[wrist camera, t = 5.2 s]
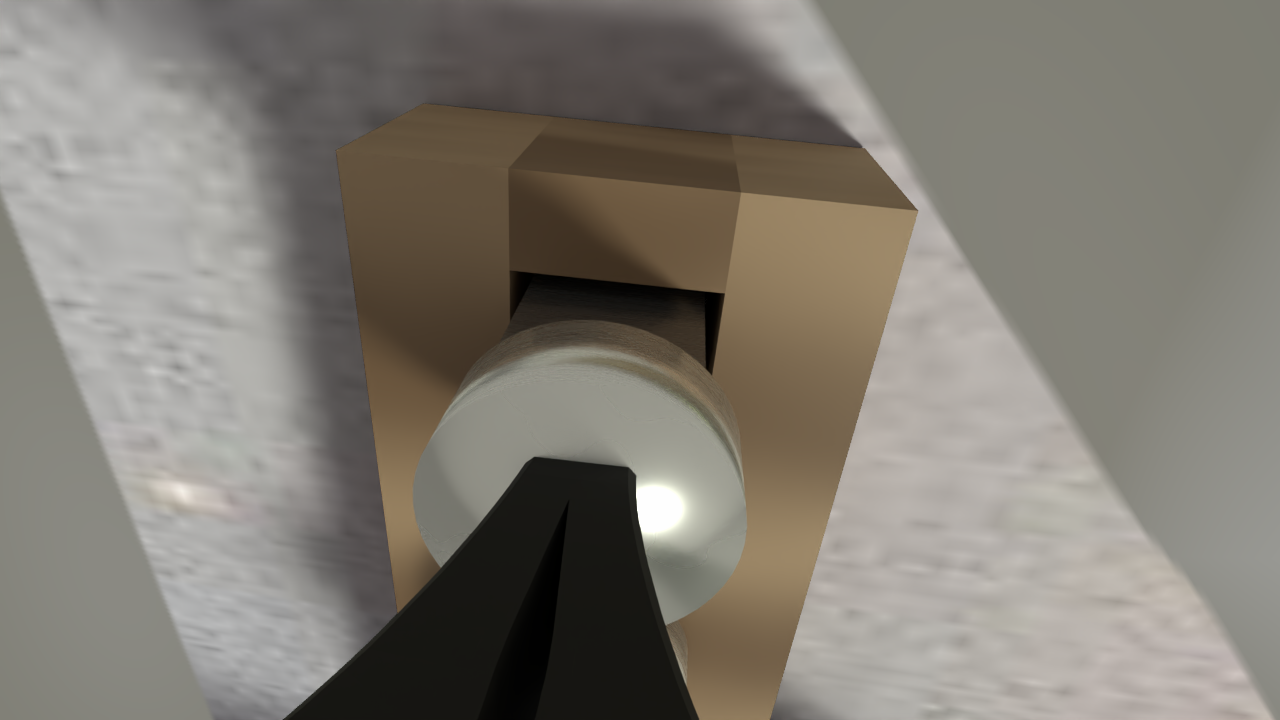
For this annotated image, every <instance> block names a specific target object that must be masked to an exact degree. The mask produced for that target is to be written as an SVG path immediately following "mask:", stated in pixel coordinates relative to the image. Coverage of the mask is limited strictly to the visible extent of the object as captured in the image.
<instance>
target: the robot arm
mask: <svg viewBox="0 0 1280 720" xmlns="http://www.w3.org/2000/svg"><path fill="white" fill-rule="evenodd" d="M636 478H637V475H636V474H635V473H634V472H633V471H632V470H631V469H630V468H629V467H623V466H614V465H605V464H595V463H587V462H578V461H569V460H560V459H551V458H542V457H533V458H532V459H530V460H529V461H527V462H526V463H525V464H524V466H523V467H522V468H521V470H520V471H519V473H518V474H517V476H516V477H515V478H514V480H513V481H512V483H511V484H510V485H509V487H508V488H507V489H506V491H505V492H504V493H503V495H502V496H501V497H500V498H499V500H498V501H497V502H496V504H495V505H494V506H493V507H492V509H491V510H490V511H489V512H488V514H487V515H486V516H485V517H484V518H483V520H482V521H481V522H480V523H479V525H478V526H477V527H476V528H475V530H474V531H473V532H472V533H471V534H470V535H469V536H468V538H467V539H466V540H465V541H464V542H463V543H462V544H461V546H460V547H459V548H458V549H457V550H456V551H455V552H454V554H453V555H452V556H451V557H450V558H449V559H448V560H447V562H446V563H445V564H444V565H443V566H442V567H441V568H440V570H439V571H438V572H437V573H436V574H435V575H434V576H433V577H432V578H431V579H430V581H429V582H428V583H427V584H426V585H425V586H424V587H423V588H422V589H421V590H420V591H419V592H418V593H417V594H416V595H415V596H414V597H413V598H412V599H411V600H410V601H409V602H408V603H407V604H406V605H405V606H404V607H403V608H402V609H401V610H400V611H399V612H398V613H397V614H396V616H395V617H394V618H393V619H392V620H391V621H390V622H389V623H388V624H387V625H386V626H385V627H384V628H383V629H382V630H381V631H380V632H379V633H378V634H377V635H376V636H375V637H374V638H373V639H372V640H371V641H370V642H369V643H368V644H366V645H365V646H364V647H363V648H362V649H361V650H360V651H359V652H358V653H357V654H356V655H355V656H354V657H353V658H352V659H351V660H350V661H349V662H347V663H346V664H345V665H344V666H343V667H342V668H341V669H340V670H339V671H338V672H337V673H335V674H334V675H333V676H332V677H331V678H330V679H329V680H328V681H327V682H325V683H324V684H323V685H322V686H321V687H320V688H319V689H317V690H316V691H315V692H314V693H313V694H312V695H311V696H310V697H308V698H307V699H306V700H305V701H304V702H303V703H302V704H301V705H299V706H298V707H297V708H296V709H295V710H294V711H292V712H291V713H290V714H289V715H288V716H287V717H285V718H284V719H283V720H699V717H698V715H697V712H696V710H695V707H694V705H693V702H692V700H691V697H690V694H689V692H688V689H687V686H686V684H685V681H684V678H683V675H682V673H681V670H680V667H679V664H678V661H677V658H676V655H675V652H674V650H673V647H672V644H671V641H670V638H669V635H668V632H667V629H666V625H665V622H664V619H663V616H662V613H661V609H660V606H659V602H658V598H657V595H656V591H655V587H654V584H653V580H652V576H651V573H650V569H649V565H648V561H647V557H646V552H645V548H644V543H643V538H642V532H641V527H640V521H639V514H638V507H637V495H636Z"/></svg>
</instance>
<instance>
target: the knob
mask: <svg viewBox="0 0 1280 720" xmlns="http://www.w3.org/2000/svg"><path fill="white" fill-rule="evenodd" d="M533 457H542V458H551V459H560V460H569V461H578V462H587V463H595V464H605V465H614V466H623V467H629V468H630V469H631V470H632V471H633V472H634V473H635V474H636V475H637V478H636V495H637V507H638V514H639V521H640V527H641V532H642V538H643V543H644V548H645V552H646V557H647V561H648V565H649V569H650V573H651V576H652V580H653V584H654V587H655V591H656V595H657V598H658V602H659V606H660V609H661V613H662V616H663V619H664V622H665V625H667V624H669V623H672V622H674V621H676V620H679V619H681V618H683V617H685V616H686V615H688V614H690V613H692V612H693V611H695V610H697V609H698V608H700V607H701V606H702V605H704V604H705V603H706V602H707V601H709V600H710V599H711V598H712V597H713V596H714V595H715V594H716V593H717V592H718V591H719V590H720V589H721V588H722V587H723V586H724V585H725V583H726V582H727V581H728V579H729V578H730V576H731V575H732V574H733V572H734V570H735V568H736V566H737V564H738V562H739V560H740V558H741V554H742V551H743V548H744V545H745V539H746V531H747V516H746V502H745V490H744V478H743V466H742V454H741V442H740V433H739V429H738V424H737V419H736V417H735V414H734V412H733V409H732V406H731V404H730V402H729V400H728V399H727V397H726V395H725V393H724V392H723V390H722V388H721V387H720V386H719V384H718V383H717V382H716V380H715V379H714V378H713V377H712V375H711V374H710V373H709V372H708V371H707V370H706V361H705V291H697V290H688V289H679V288H669V287H660V286H651V285H641V284H632V283H623V282H613V281H604V280H595V279H585V278H576V277H567V276H557V275H548V274H539V273H535V275H534V277H533V279H532V281H531V282H530V284H529V286H528V288H527V290H526V292H525V294H524V296H523V298H522V300H521V302H520V304H519V306H518V308H517V309H516V311H515V313H514V315H513V317H512V319H511V321H510V323H509V325H508V327H507V329H506V331H505V333H504V335H503V336H502V338H501V340H500V342H499V344H497V345H496V346H494V347H493V348H491V349H490V350H489V351H488V352H486V353H485V354H484V355H483V356H482V357H481V358H480V359H479V360H478V361H477V362H476V363H475V364H474V366H473V367H472V368H471V369H470V371H469V372H468V373H467V374H466V376H465V378H464V380H463V381H462V383H461V385H460V387H459V389H458V390H457V392H456V394H455V396H454V398H453V399H452V401H451V403H450V405H449V407H448V408H447V410H446V412H445V414H444V415H443V417H442V419H441V421H440V423H439V424H438V426H437V428H436V430H435V432H434V433H433V435H432V437H431V439H430V441H429V442H428V444H427V446H426V448H425V450H424V451H423V453H422V455H421V457H420V460H419V463H418V466H417V469H416V472H415V477H414V484H413V507H414V513H415V518H416V522H417V525H418V528H419V531H420V534H421V536H422V539H423V540H424V542H425V544H426V546H427V548H428V550H429V552H430V553H431V555H432V556H433V558H434V559H435V560H436V562H437V563H438V565H439V566H440V567H442V566H443V565H444V564H445V563H446V562H447V560H448V559H449V558H450V557H451V556H452V555H453V554H454V552H455V551H456V550H457V549H458V548H459V547H460V546H461V544H462V543H463V542H464V541H465V540H466V539H467V538H468V536H469V535H470V534H471V533H472V532H473V531H474V530H475V528H476V527H477V526H478V525H479V523H480V522H481V521H482V520H483V518H484V517H485V516H486V515H487V514H488V512H489V511H490V510H491V509H492V507H493V506H494V505H495V504H496V502H497V501H498V500H499V498H500V497H501V496H502V495H503V493H504V492H505V491H506V489H507V488H508V487H509V485H510V484H511V483H512V481H513V480H514V478H515V477H516V476H517V474H518V473H519V471H520V470H521V468H522V467H523V466H524V464H525V463H526V462H527V461H529V460H530V459H532V458H533Z"/></svg>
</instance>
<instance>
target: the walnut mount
mask: <svg viewBox="0 0 1280 720" xmlns="http://www.w3.org/2000/svg"><path fill="white" fill-rule="evenodd" d="M336 156H337V163H338V171H339V178H340V186H341V193H342V201H343V208H344V216H345V223H346V231H347V238H348V246H349V253H350V261H351V268H352V276H353V283H354V291H355V298H356V306H357V313H358V321H359V328H360V336H361V343H362V351H363V358H364V366H365V373H366V381H367V388H368V396H369V403H370V411H371V418H372V426H373V433H374V441H375V448H376V456H377V463H378V471H379V478H380V486H381V493H382V501H383V508H384V516H385V523H386V531H387V538H388V546H389V553H390V561H391V568H392V576H393V583H394V591H395V598H396V606H397V613H398V612H399V611H400V610H401V609H402V608H403V607H404V606H405V605H406V604H407V603H408V602H409V601H410V600H411V599H412V598H413V597H414V596H415V595H416V594H417V593H418V592H419V591H420V590H421V589H422V588H423V587H424V586H425V585H426V584H427V583H428V582H429V581H430V579H431V578H432V577H433V576H434V575H435V574H436V573H437V572H438V571H439V570H440V568H441V567H440V566H439V565H438V563H437V562H436V560H435V559H434V558H433V556H432V555H431V553H430V552H429V550H428V548H427V546H426V544H425V542H424V540H423V539H422V536H421V534H420V531H419V528H418V525H417V522H416V518H415V513H414V507H413V484H414V477H415V472H416V469H417V466H418V463H419V460H420V457H421V455H422V453H423V451H424V450H425V448H426V446H427V444H428V442H429V441H430V439H431V437H432V435H433V433H434V432H435V430H436V428H437V426H438V424H439V423H440V421H441V419H442V417H443V415H444V414H445V412H446V410H447V408H448V407H449V405H450V403H451V401H452V399H453V398H454V396H455V394H456V392H457V390H458V389H459V387H460V385H461V383H462V381H463V380H464V378H465V376H466V374H467V373H468V372H469V371H470V369H471V368H472V367H473V366H474V364H475V363H476V362H477V361H478V360H479V359H480V358H481V357H482V356H483V355H484V354H485V353H486V352H488V351H489V350H490V349H491V348H493V347H494V346H496V345H497V344H499V342H500V340H501V338H502V336H503V335H504V333H505V331H506V329H507V327H508V325H509V323H510V321H511V319H512V317H513V315H514V313H515V311H516V309H517V308H518V306H519V304H520V302H521V300H522V298H523V296H524V294H525V292H526V290H527V288H528V286H529V284H530V282H531V281H532V279H533V277H534V275H535V273H539V274H548V275H557V276H567V277H576V278H585V279H595V280H604V281H613V282H623V283H632V284H641V285H651V286H660V287H669V288H679V289H688V290H697V291H707V292H708V298H707V305H706V312H705V361H706V370H707V371H708V372H709V373H710V374H711V375H712V377H713V378H714V379H715V380H716V382H717V383H718V384H719V386H720V387H721V388H722V390H723V392H724V393H725V395H726V397H727V399H728V400H729V402H730V404H731V406H732V409H733V412H734V414H735V417H736V419H737V424H738V429H739V433H740V442H741V454H742V466H743V478H744V490H745V502H746V516H747V531H746V539H745V545H744V548H743V551H742V554H741V558H740V560H739V562H738V564H737V566H736V568H735V570H734V572H733V574H732V575H731V576H730V578H729V579H728V581H727V582H726V583H725V585H724V586H723V587H722V588H721V589H720V590H719V591H718V592H717V593H716V594H715V595H714V596H713V597H712V598H711V599H710V600H709V601H707V602H706V603H705V604H704V605H702V606H701V607H700V608H698V609H697V610H695V611H693V612H692V613H690V614H688V615H686V616H685V617H683V618H681V619H679V620H678V621H679V623H680V625H681V627H682V629H683V630H684V633H685V636H686V640H687V647H688V655H687V689H688V692H689V694H690V697H691V700H692V702H693V705H694V707H695V710H696V712H697V715H698V717H699V720H770V718H771V714H772V711H773V707H774V704H775V701H776V697H777V694H778V690H779V687H780V683H781V680H782V677H783V673H784V670H785V666H786V663H787V659H788V656H789V653H790V649H791V646H792V642H793V639H794V635H795V632H796V629H797V625H798V622H799V618H800V615H801V611H802V608H803V605H804V601H805V598H806V594H807V591H808V587H809V584H810V581H811V577H812V574H813V570H814V567H815V563H816V560H817V556H818V553H819V550H820V546H821V543H822V539H823V536H824V532H825V529H826V526H827V522H828V519H829V515H830V512H831V508H832V505H833V502H834V498H835V495H836V491H837V488H838V484H839V481H840V478H841V474H842V471H843V467H844V464H845V460H846V457H847V454H848V450H849V447H850V443H851V440H852V436H853V433H854V430H855V426H856V423H857V419H858V416H859V412H860V409H861V406H862V402H863V399H864V395H865V392H866V388H867V385H868V382H869V378H870V375H871V371H872V368H873V364H874V361H875V358H876V354H877V351H878V347H879V344H880V340H881V337H882V333H883V330H884V327H885V323H886V320H887V316H888V313H889V309H890V306H891V303H892V299H893V296H894V292H895V289H896V285H897V282H898V279H899V275H900V272H901V268H902V265H903V261H904V258H905V255H906V251H907V248H908V244H909V241H910V237H911V234H912V231H913V227H914V224H915V220H916V217H917V213H918V210H917V209H916V208H915V207H914V205H913V204H912V203H911V202H910V201H909V199H908V198H907V197H906V196H905V195H904V194H903V192H902V191H901V190H900V189H899V188H898V187H897V185H896V184H895V183H894V182H893V181H892V180H891V178H890V177H889V176H888V175H887V174H886V173H885V171H884V170H883V169H882V168H881V167H880V166H879V164H878V163H877V162H876V161H875V160H874V159H873V157H872V156H871V155H870V154H869V153H868V152H867V150H866V149H865V148H855V147H846V146H836V145H826V144H816V143H806V142H797V141H787V140H777V139H767V138H757V137H747V136H738V135H728V134H718V133H708V132H698V131H689V130H679V129H669V128H659V127H649V126H640V125H630V124H620V123H610V122H600V121H591V120H581V119H571V118H561V117H551V116H542V115H532V114H522V113H512V112H502V111H492V110H483V109H473V108H463V107H453V106H443V105H434V104H422V105H420V106H418V107H416V108H414V109H412V110H410V111H409V112H407V113H405V114H403V115H401V116H399V117H397V118H396V119H394V120H392V121H390V122H388V123H386V124H384V125H382V126H381V127H379V128H377V129H375V130H373V131H371V132H369V133H367V134H366V135H364V136H362V137H360V138H358V139H356V140H354V141H353V142H351V143H349V144H347V145H345V146H343V147H341V148H339V149H338V150H336Z"/></svg>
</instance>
